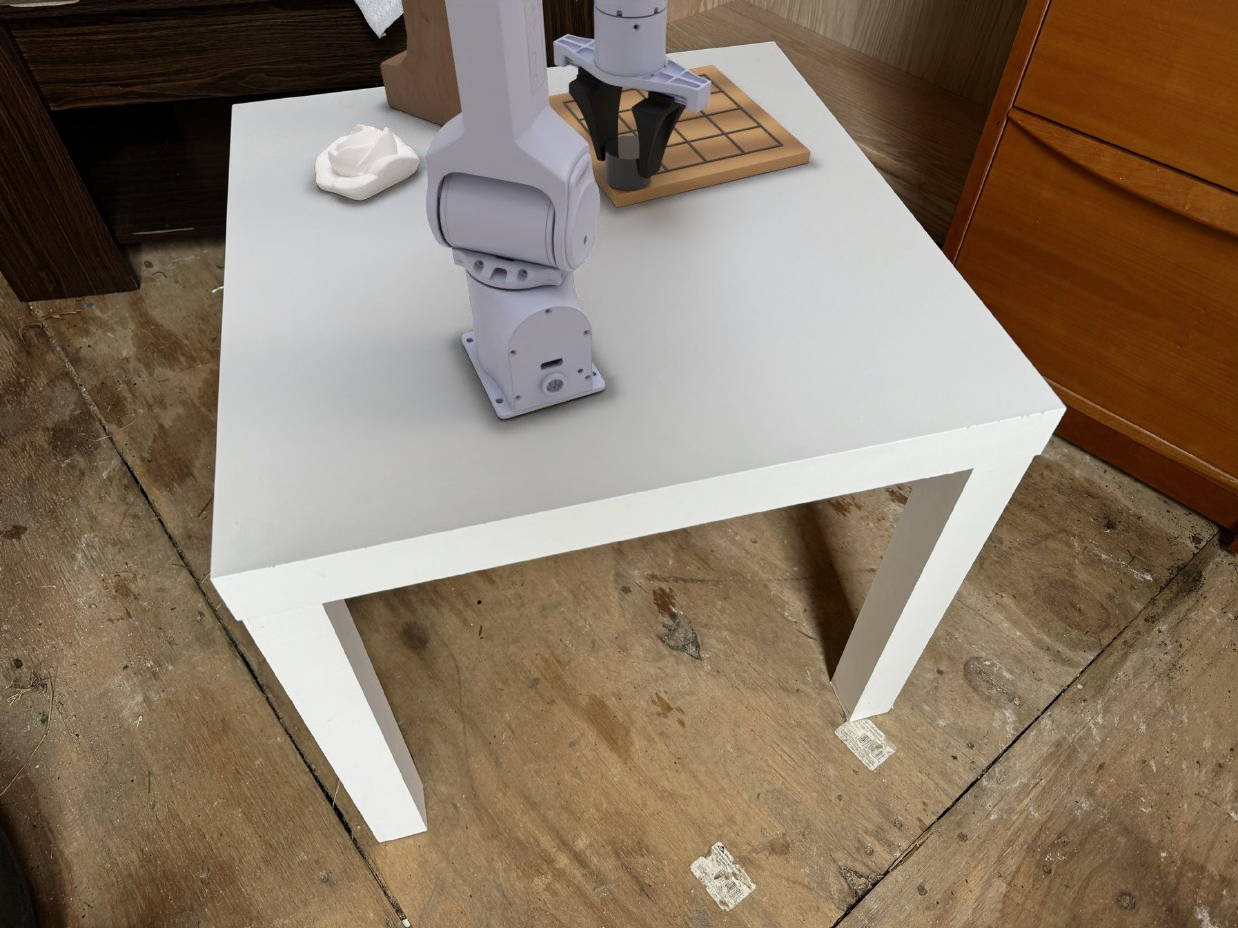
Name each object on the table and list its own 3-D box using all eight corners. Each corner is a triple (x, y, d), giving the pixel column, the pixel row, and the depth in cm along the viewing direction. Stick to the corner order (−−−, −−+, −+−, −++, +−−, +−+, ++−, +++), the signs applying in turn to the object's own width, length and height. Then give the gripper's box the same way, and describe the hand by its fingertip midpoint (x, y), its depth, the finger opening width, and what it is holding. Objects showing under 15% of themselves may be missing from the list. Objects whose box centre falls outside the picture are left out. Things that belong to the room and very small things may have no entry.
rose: (406, 158, 75) (291, 159, 75) (414, 204, 79) (305, 205, 79) (420, 103, 82) (315, 103, 82) (428, 147, 85) (327, 148, 85)
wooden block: (386, 107, 91) (348, -92, 77) (416, 90, 93) (384, -105, 80) (453, 131, 88) (424, -72, 74) (482, 113, 90) (459, -86, 77)
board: (808, 163, 84) (811, 150, 83) (616, 208, 79) (616, 194, 78) (711, 75, 96) (712, 63, 95) (539, 109, 91) (538, 97, 90)
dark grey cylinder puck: (659, 185, 79) (660, 153, 76) (616, 195, 78) (616, 163, 75) (639, 162, 81) (640, 132, 79) (597, 172, 80) (597, 141, 78)
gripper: (737, 10, 68) (721, 171, 78) (588, -33, 73) (591, 123, 83) (686, 41, 64) (676, 207, 74) (533, -7, 69) (543, 153, 80)
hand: (628, 165), depth 78 cm, fingers closed on dark grey cylinder puck, 4 cm apart
